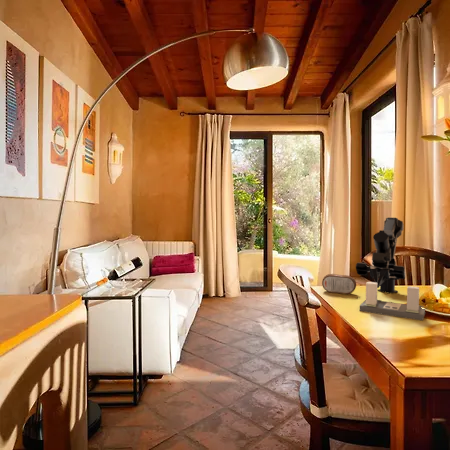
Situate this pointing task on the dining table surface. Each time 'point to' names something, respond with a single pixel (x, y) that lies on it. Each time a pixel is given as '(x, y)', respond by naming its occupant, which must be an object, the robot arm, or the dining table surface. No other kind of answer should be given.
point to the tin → (339, 283)
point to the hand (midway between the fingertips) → (376, 287)
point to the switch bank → (393, 310)
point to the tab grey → (413, 298)
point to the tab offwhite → (371, 293)
